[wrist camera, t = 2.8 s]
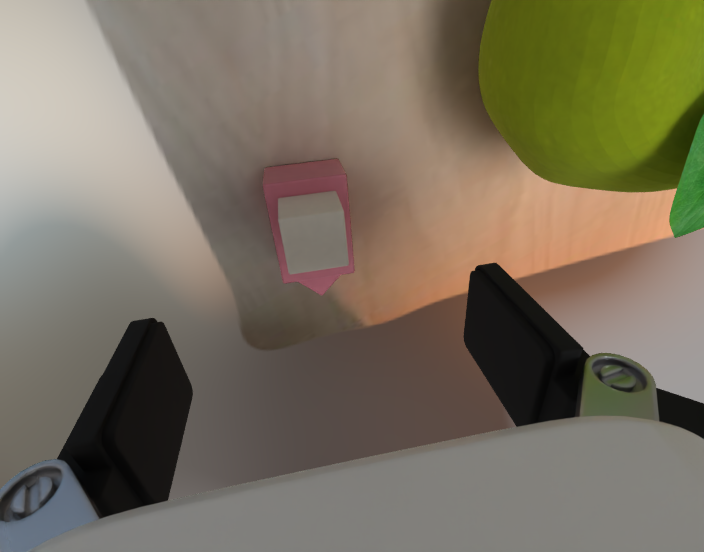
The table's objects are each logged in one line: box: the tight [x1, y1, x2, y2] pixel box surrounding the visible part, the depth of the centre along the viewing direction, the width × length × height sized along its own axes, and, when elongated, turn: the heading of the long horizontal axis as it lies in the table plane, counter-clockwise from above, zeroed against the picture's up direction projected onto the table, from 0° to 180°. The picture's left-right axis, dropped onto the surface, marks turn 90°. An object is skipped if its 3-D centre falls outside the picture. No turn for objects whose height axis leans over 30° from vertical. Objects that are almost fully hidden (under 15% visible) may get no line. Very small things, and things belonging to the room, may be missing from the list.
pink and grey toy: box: [263, 159, 355, 295], centre depth 17 cm, size 6×3×5 cm, turn 4°
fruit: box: [478, 0, 704, 238], centre depth 12 cm, size 9×9×10 cm
